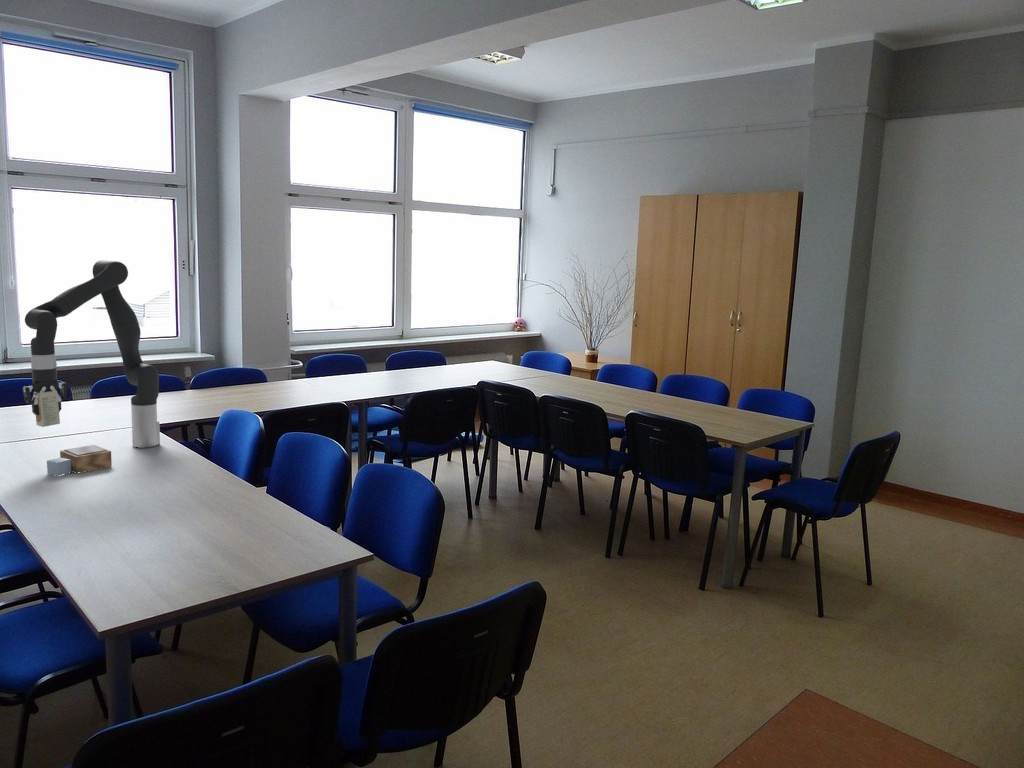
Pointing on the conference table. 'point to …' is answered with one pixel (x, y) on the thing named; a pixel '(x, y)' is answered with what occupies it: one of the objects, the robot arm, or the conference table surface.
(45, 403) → the skincare box
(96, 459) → the walnut base
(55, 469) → the slate cube
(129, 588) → the conference table surface
